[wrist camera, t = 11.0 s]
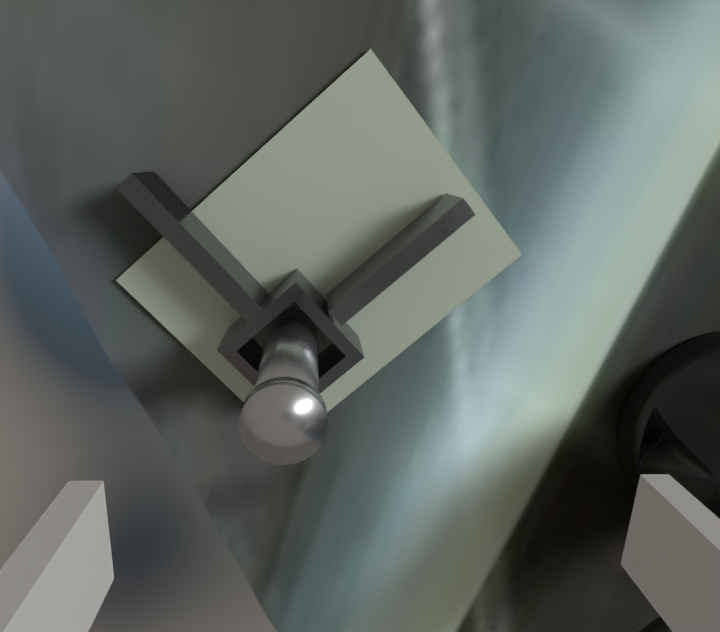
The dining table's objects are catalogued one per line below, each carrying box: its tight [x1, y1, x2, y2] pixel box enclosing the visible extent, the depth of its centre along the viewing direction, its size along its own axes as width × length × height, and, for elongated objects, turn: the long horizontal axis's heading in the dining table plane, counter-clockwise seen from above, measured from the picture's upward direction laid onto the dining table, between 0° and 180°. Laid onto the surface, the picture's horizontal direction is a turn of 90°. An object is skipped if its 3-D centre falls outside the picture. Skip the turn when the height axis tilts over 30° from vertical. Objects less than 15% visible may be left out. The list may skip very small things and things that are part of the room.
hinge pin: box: [239, 308, 327, 465], centre depth 29 cm, size 4×4×13 cm
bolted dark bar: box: [326, 193, 476, 326], centre depth 32 cm, size 1×10×4 cm, turn 130°
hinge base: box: [116, 171, 364, 393], centre depth 32 cm, size 16×6×4 cm, turn 40°
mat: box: [116, 49, 522, 412], centre depth 34 cm, size 16×21×1 cm
